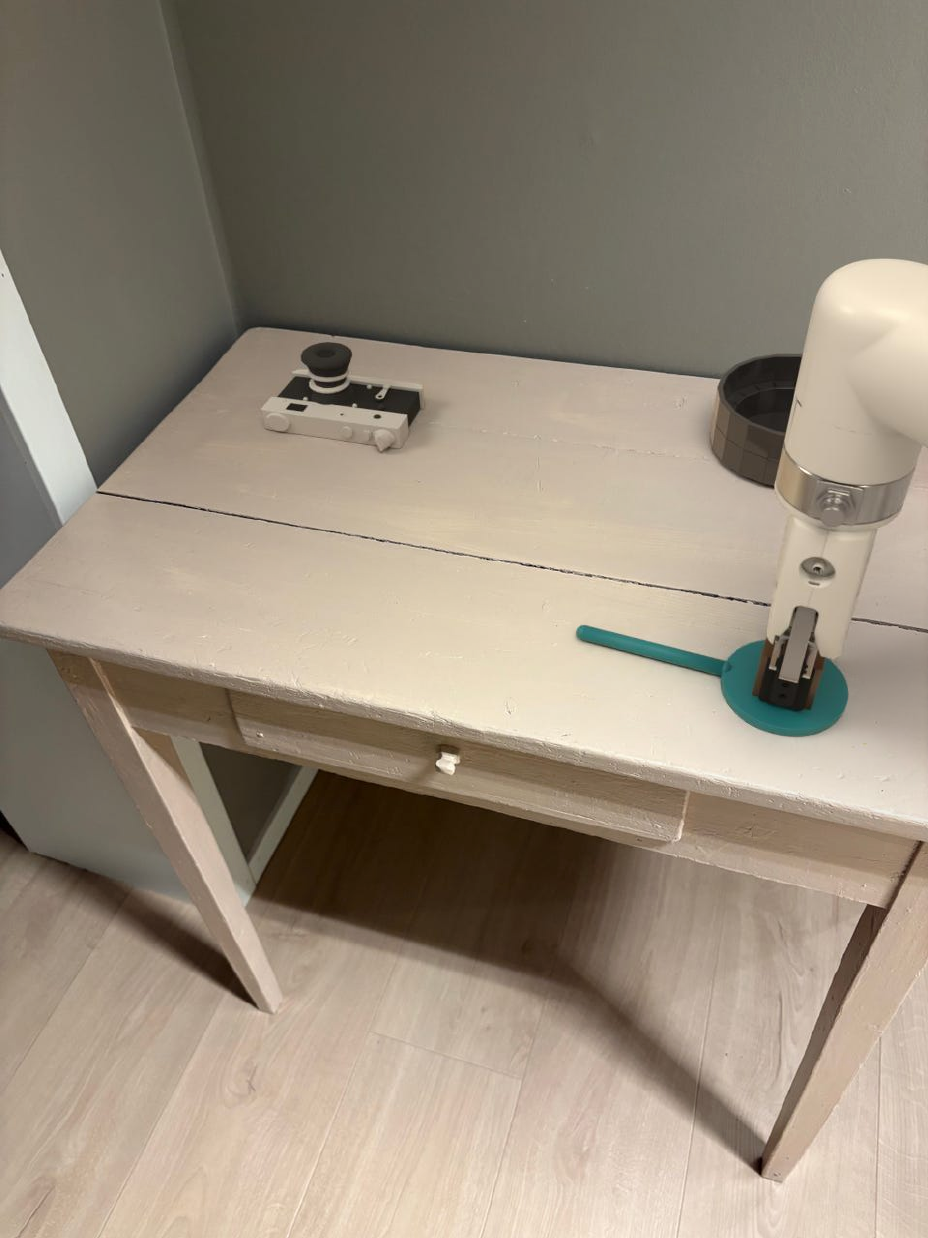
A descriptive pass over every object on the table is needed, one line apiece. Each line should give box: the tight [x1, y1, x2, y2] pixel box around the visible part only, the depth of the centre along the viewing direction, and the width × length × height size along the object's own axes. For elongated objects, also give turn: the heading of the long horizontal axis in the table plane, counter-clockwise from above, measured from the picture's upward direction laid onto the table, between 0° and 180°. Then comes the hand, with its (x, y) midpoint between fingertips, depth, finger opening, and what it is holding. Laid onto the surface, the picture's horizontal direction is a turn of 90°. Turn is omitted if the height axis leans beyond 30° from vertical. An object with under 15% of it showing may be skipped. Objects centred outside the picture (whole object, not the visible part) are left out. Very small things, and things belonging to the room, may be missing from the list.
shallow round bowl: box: [709, 353, 803, 487], centre depth 92 cm, size 15×15×6 cm
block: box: [752, 626, 826, 710], centre depth 69 cm, size 4×4×4 cm
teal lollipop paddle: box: [575, 624, 849, 737], centre depth 73 cm, size 21×9×1 cm, turn 67°
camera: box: [260, 341, 426, 452], centre depth 99 cm, size 15×7×10 cm
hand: (787, 677), depth 70 cm, fingers closed on block, 4 cm apart
